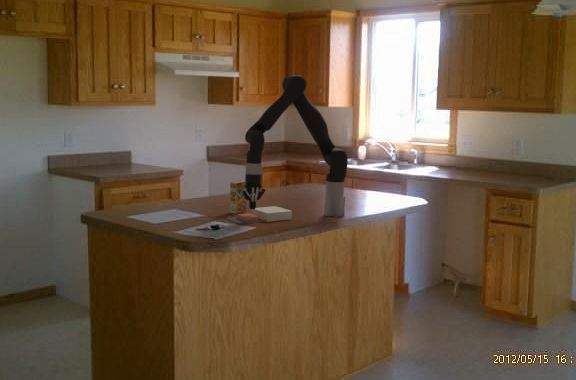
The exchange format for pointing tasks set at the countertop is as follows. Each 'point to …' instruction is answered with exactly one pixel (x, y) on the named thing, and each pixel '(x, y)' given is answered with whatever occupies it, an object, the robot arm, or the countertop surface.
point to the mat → (243, 221)
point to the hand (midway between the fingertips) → (252, 209)
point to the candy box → (237, 197)
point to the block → (247, 217)
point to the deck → (272, 213)
